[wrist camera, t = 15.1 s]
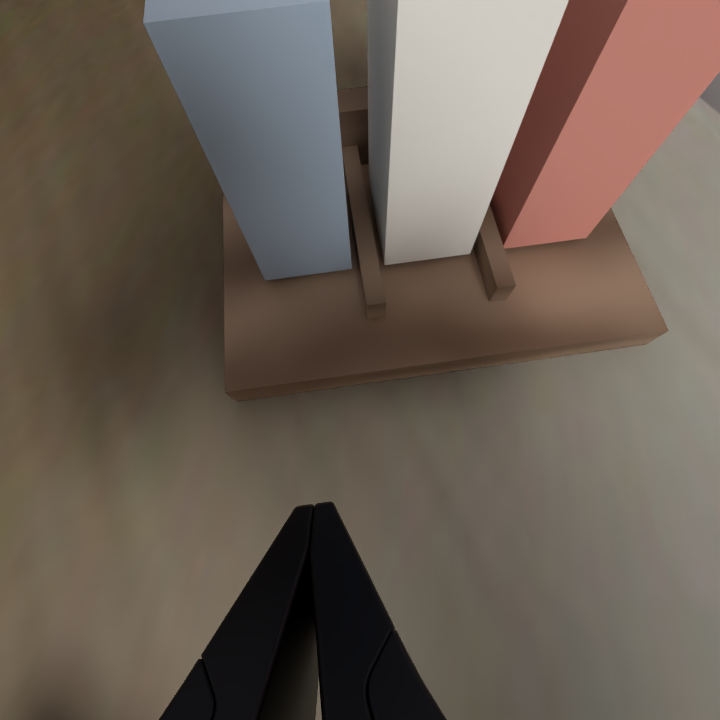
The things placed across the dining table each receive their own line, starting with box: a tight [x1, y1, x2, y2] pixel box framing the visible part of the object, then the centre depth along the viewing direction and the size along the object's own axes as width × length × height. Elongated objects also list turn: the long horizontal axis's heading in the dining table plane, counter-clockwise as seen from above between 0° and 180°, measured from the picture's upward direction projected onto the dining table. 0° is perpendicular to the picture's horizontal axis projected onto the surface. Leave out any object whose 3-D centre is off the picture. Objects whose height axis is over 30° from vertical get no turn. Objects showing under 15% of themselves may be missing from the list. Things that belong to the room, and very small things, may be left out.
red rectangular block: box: [490, 0, 720, 249], centre depth 14 cm, size 5×4×10 cm
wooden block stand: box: [223, 86, 668, 401], centre depth 18 cm, size 13×19×4 cm
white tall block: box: [367, 0, 569, 265], centre depth 14 cm, size 5×4×10 cm
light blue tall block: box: [143, 0, 352, 280], centre depth 14 cm, size 5×4×10 cm
